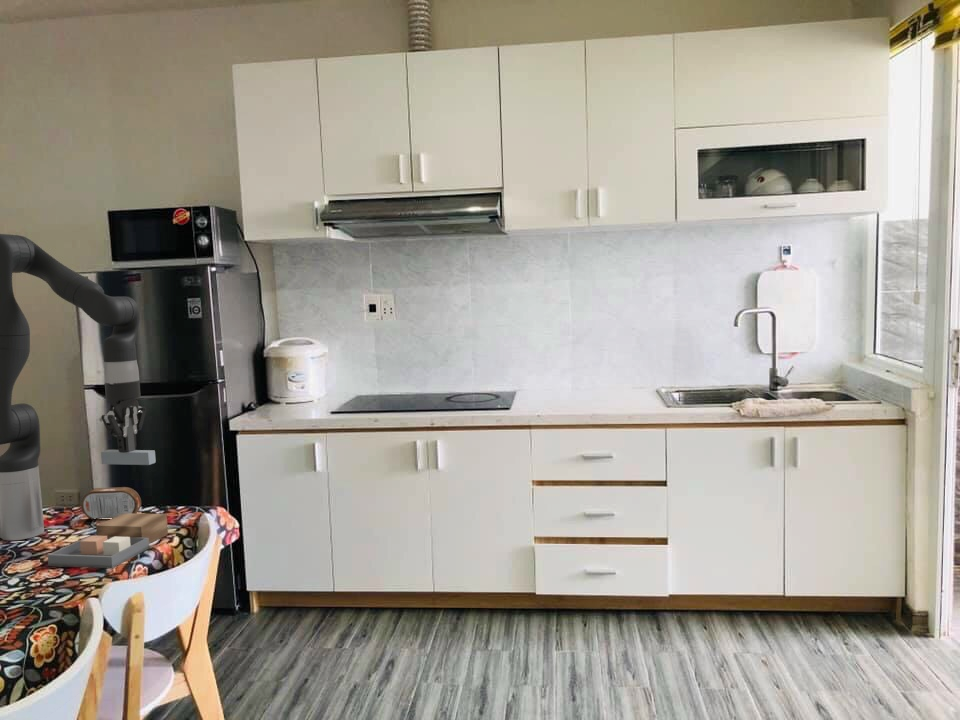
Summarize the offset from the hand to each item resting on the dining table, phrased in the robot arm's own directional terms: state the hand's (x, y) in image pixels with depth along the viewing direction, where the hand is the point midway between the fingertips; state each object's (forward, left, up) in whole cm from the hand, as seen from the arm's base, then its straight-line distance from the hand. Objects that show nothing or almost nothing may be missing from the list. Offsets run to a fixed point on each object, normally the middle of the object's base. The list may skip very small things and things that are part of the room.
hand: (127, 450), depth 180 cm
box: (0, -12, -22) cm, 25 cm away
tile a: (-3, -10, -18) cm, 21 cm away
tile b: (+3, -11, -18) cm, 21 cm away
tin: (-18, +16, -22) cm, 33 cm away
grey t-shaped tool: (0, 0, -3) cm, 3 cm away
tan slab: (0, 0, -22) cm, 22 cm away
